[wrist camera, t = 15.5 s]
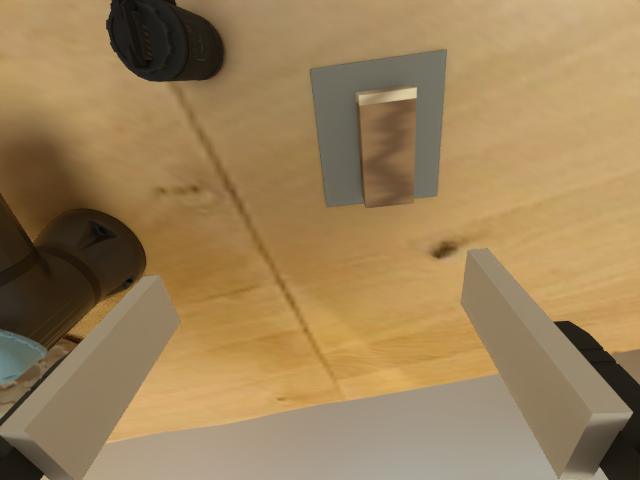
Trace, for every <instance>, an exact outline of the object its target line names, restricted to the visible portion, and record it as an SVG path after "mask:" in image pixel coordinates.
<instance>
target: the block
mask: <svg viewBox="0 0 640 480" xmlns="http://www.w3.org/2000/svg"><path fill="white" fill-rule="evenodd" d="M355 96H356V109H357V124H358V140H359V156H360V171H361V187H362V195H363V199H364V203H365V208H371V207H381V206H391V205H401V204H411V203H414V176H415V134H416V98H417V88H416V87H410V86H399V87H392V88H385V89H378V90H371V91H363V92H356V93H355Z"/></svg>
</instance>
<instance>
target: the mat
mask: <svg viewBox="0 0 640 480" xmlns="http://www.w3.org/2000/svg"><path fill="white" fill-rule="evenodd" d="M446 54H447V50H441V51H434V52H427V53H420V54H413V55H406V56H399V57H392V58H385V59H378V60H371V61H364V62H357V63H350V64H343V65H336V66H329V67H322V68H315V69H310V73H311V81H312V90H313V98H314V106H315V114H316V123H317V131H318V139H319V148H320V156H321V164H322V172H323V181H324V189H325V197H326V206H327V207H332V206H343V205H353V204H363V203H364V199H363V195H362V187H361V171H360V156H359V140H358V124H357V109H356V96H355V93H356V92H363V91H371V90H378V89H385V88H392V87H399V86H410V87H416V88H417V98H416V134H415V176H414V198H424V197H434V196H437V189H438V174H439V159H440V144H441V129H442V114H443V99H444V84H445V69H446Z"/></svg>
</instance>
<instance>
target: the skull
mask: <svg viewBox="0 0 640 480" xmlns="http://www.w3.org/2000/svg"><path fill="white" fill-rule="evenodd" d="M78 345H79V344H77V343H74V342H72V341H69V340H66V339H64V338H62V339H61V340H60V341H59V342H58V343H57V344H56V345H55V346H54V347H53V348H52V349H51V350H49V351H48V353H47V355H46V356H45V357H44V358H43V359H40V360H39V361H38V362H37V363H36V364H34V365H33V366H32V367H31V368H30V369H28V370H27V371H26V372H25V373H24V374H22V375H21V376H20V377H19V378H17V379H15V380H13V381H11V382H8V383H6V384H2V385H0V419H1V418H2V417H3V416H4V415H5V414H6V413H7V412H8V410H9V409H10V408H11V407H12V406H13V405H14V404H15V403H16V402H17V401H18V400H19V399H20V398H21V397H22V396H23V395H24V394H25V393H26V392H27V391H30V390H31V387H32V386H33V385H34V384H35V383H36V382H37V381H38V380H39V379H41V378H42V376H43V375H44V373H45V372H46V371H47V370H48V369H49V368H50V367H51V366H52V365H53V364H54V363H55V362H57V361H58V360H59V359H61V358H62V357H63V356H65V355H66V354H68V353H69V352H70V351H72V350H74V349H75V348H76V347H77V346H78Z"/></svg>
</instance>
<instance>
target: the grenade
mask: <svg viewBox="0 0 640 480" xmlns="http://www.w3.org/2000/svg"><path fill="white" fill-rule="evenodd" d="M110 5H111V12H110V15H109V19H108V20H106V29H107V30H108V32H109V36H110V40H111V42H110V45H111V46H112V48H113V50H114V52H116V53H117V55H118V57H119V58H120V60H121V61H122V62H123V63H124V64H125V66H126V67H127V68H128V69H129V70H130V71H132V72H133V73H134V74H136V75H137V76H138V77H141V78H143V79H146V80H148V81H157V82H164V81H187V80H206V79H209V78H211V77H212V76H214V75H215V74H216V73H217V72H218V70H219V69H220V66H221V64H222V61H223V47H222V43H221V39H220V37H219V35H218V33H217V31H216V29H215V28H214V27H213V26H212V25H211V24H210V23H209V22H208V21H207V20H205V19H204V18H202V17H201V16H198V15H196V14H194V13H191V12H189V11H187V10H185V9H182V8H180V7H178V6H175V5H176V2H175V0H112V3H111V4H110Z"/></svg>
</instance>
